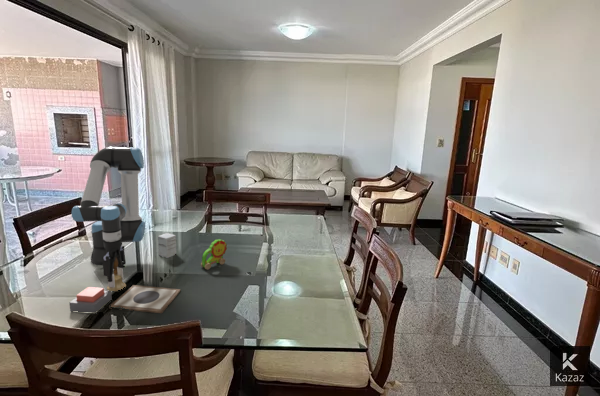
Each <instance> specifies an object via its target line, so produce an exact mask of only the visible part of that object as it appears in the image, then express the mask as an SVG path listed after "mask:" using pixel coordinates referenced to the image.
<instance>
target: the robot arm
mask: <svg viewBox="0 0 600 396" xmlns="http://www.w3.org/2000/svg"><path fill="white" fill-rule="evenodd" d="M144 161H145V159H144V156H143V152H142V150H141V149H140V148H138V147H132V146H130V147H129V146H127V147H126V146H106V147H103V148H102V149H100V150H99V151H97V152H96V153H95V154H94V156H93V157H92V158H91V161H90V163H89V168H90V171H89V174H88V177H87V182H86V184H85V188H84V191H83V194H82V198H81V200H80V205H74V206H73V207H72V208H71V219H72V220H73V221H74V222H83V223H85V222H94V223H92V224H91V232H90V233H91V239H92V248H93V250H92V252H91V256H90V263H91V264H93V265H96V266H102V269H103V272H102V273H103V277H107V283H108V285H107V286H109V287H113V288H114V287H115V279H114V269H113V268H114V261H115V259H116V258H117V260H118V268H117V271H118V275H119V276H121V279H122V281H123V282H124V268H125V267H126V264H127V263H126V256H125V255H126V254H125V246H124V245H123V243H136V242H141V241H143V238H144V236H145V230H146V222H145V221H144V220H143V218H142V217H141V216H140V206H139V205H140V204H139V203H140V200H139V174H140V173H141V172H142V169H144V167H145V162H144ZM112 168H113V169H115V168H116V169H117V172H118V173H119V174H120V187H121V203H114V204H111V205H100V201H101V196H102V195H103V194H102V193H103V189H104V186H105V182H106V179H107V175H108V173H109V172H110V171H111V169H112Z"/></svg>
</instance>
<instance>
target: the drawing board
mask: <svg viewBox="0 0 600 396" xmlns="http://www.w3.org/2000/svg"><path fill="white" fill-rule="evenodd" d="M181 290H182V289H179V288H169V287H158V286H147V285H139V284H138V285H136V284H132V286H131V287H129V288H128V289H127V290H125V292H124V293H122V294H121V295H120V296H119V297H118V298H116V300H114V301H112V303H111V304H110V305H111V307H119V306H120V307H121V308H122V307H123V308H125V309H129V310H128V311H133V310H134V311H135V312H142V313H144V312H145V313H156V314H163V313H164V312H165V310H166V309H167V308H168V307H169V306H170V304H172V302H173V301H174V299H176V297H177V296H178V295H179V294H180V292H182V291H181ZM168 305H169V306H168Z"/></svg>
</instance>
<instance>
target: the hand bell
mask: <svg viewBox="0 0 600 396" xmlns="http://www.w3.org/2000/svg"><path fill="white" fill-rule="evenodd" d="M117 268H119V267H118V260H117V258H116V259H115V261H114V268H113V274H114V279H115V287H114V288H113V287H109V285H107V287H106V291H108V290H109V291H114V292H119V291H118V290H120V291H122V290H124V289H125V288H126V287H127V284H126V283H125V282H124V280H123V281H122V279H121V276H119V275H118V271H117ZM124 287H125V288H124ZM123 288H124V289H123ZM121 289H122V290H121Z"/></svg>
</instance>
